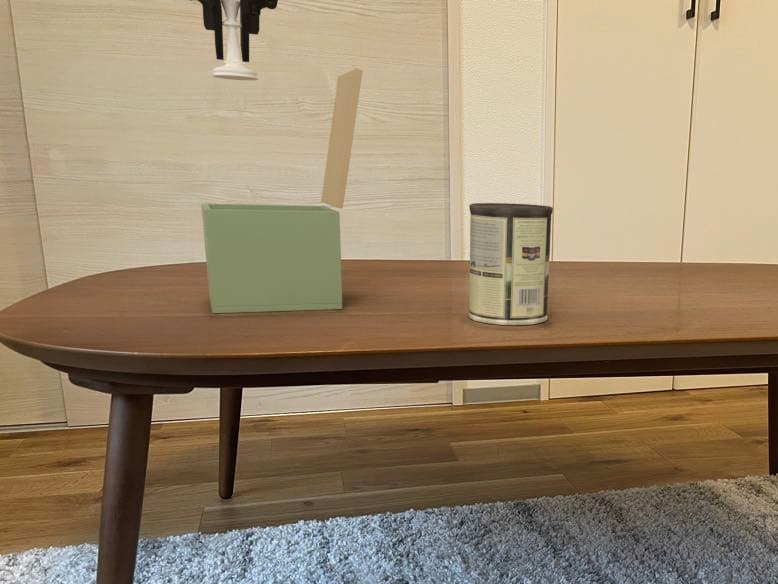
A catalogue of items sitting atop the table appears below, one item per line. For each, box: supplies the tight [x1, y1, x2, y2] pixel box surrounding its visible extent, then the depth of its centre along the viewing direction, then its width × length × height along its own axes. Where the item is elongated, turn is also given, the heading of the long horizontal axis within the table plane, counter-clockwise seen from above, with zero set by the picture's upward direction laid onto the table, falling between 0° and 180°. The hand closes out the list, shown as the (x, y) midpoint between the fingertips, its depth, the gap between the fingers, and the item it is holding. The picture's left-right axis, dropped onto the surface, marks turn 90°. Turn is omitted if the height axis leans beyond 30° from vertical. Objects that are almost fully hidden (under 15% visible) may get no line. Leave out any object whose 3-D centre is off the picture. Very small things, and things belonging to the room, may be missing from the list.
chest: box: [201, 202, 343, 314], centre depth 101 cm, size 16×12×12 cm
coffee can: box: [468, 202, 554, 326], centre depth 98 cm, size 10×10×14 cm
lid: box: [320, 68, 363, 209], centre depth 100 cm, size 16×12×1 cm
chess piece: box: [212, 0, 259, 81], centre depth 88 cm, size 5×5×10 cm
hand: (232, 52), depth 92 cm, fingers closed on chess piece, 2 cm apart
